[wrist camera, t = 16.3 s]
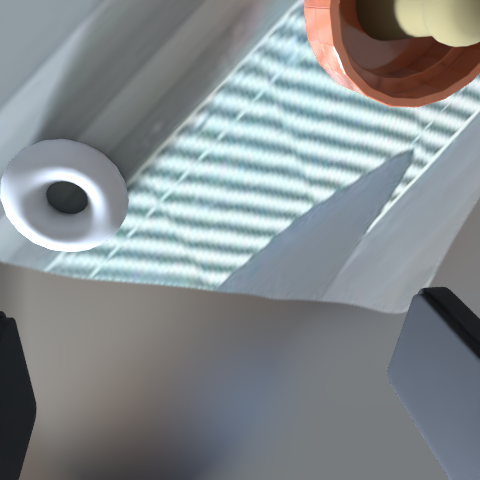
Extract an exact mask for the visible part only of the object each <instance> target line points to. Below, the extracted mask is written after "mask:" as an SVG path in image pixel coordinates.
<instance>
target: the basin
mask: <svg viewBox="0 0 480 480" xmlns="http://www.w3.org/2000/svg"><path fill="white" fill-rule="evenodd" d="M304 14H305V21H306V29H307V36H308V40H309V43H310V45H311V47H312V49H313V51H314V53H315V56H316V58H317V60H318V62H319V64H320V65H321V67H322V68H323V69H324V70H325V71H326V72H327V73H328V74H329V75H330V76H331V77H332V78H333V79H334V80H335V81H336V82H337V83H338V84H340V85H343V86H345V87H347V88H349V89H351V90H354V91H356V92H358V93H360V94H362V95H365V96H367V97H369V98H371V99H374V100H376V101H378V102H380V103H383V104H385V105H387V106H391V107H420V106H423V105H427V104H430V103H433V102H437V101H440V100H443V99H445V98H447V97H449V96H450V95H452V94H453V93H455V92H456V91H458V90H460V89H461V88H463V87H464V86H466V85H467V84H469V83H470V82H471V81H473V80H474V79H475V77H476V76H477V75H478V74H479V73H480V42H478V43H475V44H473V45H469V46H459V47H454V46H449V45H446V44H443V43H440V42H438V41H437V40H436V39H435V38H434V37H433V36H426V37H417V38H408V39H399V40H389V41H380V40H377V39H374V38H371V37H370V36H369V35H368V34H367V33H366V32H364V31H363V29H362V27H361V25H360V23H359V21H358V18H357V13H356V0H305V1H304Z"/></svg>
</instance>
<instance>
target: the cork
mask: <svg viewBox="0 0 480 480" xmlns="http://www.w3.org/2000/svg"><path fill="white" fill-rule="evenodd" d="M356 13H357V18H358V21H359V23H360V25H361V27H362V29H363V31H364V32H366V33H367V34H368V35H369V36H370V37H371V38H374V39H377V40H380V41H389V40H399V39H408V38H417V37H426V36H433V37H434V38H435V39H436V40H437V41H438V42H440V43H443V44H446V45H449V46H454V47H459V46H469V45H473V44H475V43H478V42H480V0H356Z"/></svg>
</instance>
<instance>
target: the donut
mask: <svg viewBox="0 0 480 480" xmlns="http://www.w3.org/2000/svg"><path fill="white" fill-rule="evenodd" d="M60 181H67V182H72V183H74V184H76V185H78V186H79V187H80V188H82V189H83V190H84V192H85V193H86V195H87V198H88V205H87V206H86V208H85V209H84V210H83V211H81V212H79V213H76V214H66V213H62V212H60V211H58V210H56V209H55V208H53V207H52V206H51V205H50V203H49V202H48V200H47V196H46V191H47V189H48V187H49V186H50V185H51V184H53V183H56V182H60ZM1 201H2V203H3V206H4V209H5V212H6V215H7V217H8V218H9V219H10V220H11V222H12V223H13V224H14V226H15V227H16V228H17V229H18V231H19V232H20V233H22V234H23V235H24V236H26V237H27V238H29V239H30V240H31V241H33V242H34V243H36V244H39V245H41V246H44V247H47V248H49V249H52V250H59V251H67V252H73V251H81V250H88V249H91V248H93V247H95V246H98V245H100V244H103V243H105V242H106V241H107V240H108V239H109V238H111V237H112V236H113V235H114V234H115V233H117V231H118V229H119V228H120V226H121V224H122V223H123V221H124V219H125V217H126V214H127V208H128V202H129V199H128V193H127V188H126V183H125V181H124V179H123V177H122V175H121V174H120V172H119V170H118V168H117V166H116V165H115V164H114V163H113V162H112V161H110V160H109V159H108V158H107V157H106V156H105V155H104V154H103V153H102V152H100V151H98V150H96V149H94V148H92V147H91V146H89V145H87V144H85V143H81V142H76V141H72V140H67V139H55V140H43V141H41V142H38V143H36V144H33V145H31V146H29V147H26V148H24V149H22V150H21V151H20V152H19V153H18V154H17V155H16V156H15V157H14V158H13V159H12V160H11V161H10V162H9V164H8V166H7V168H6V170H5V173H4V175H3V177H2V180H1Z"/></svg>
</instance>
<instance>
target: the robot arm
mask: <svg viewBox="0 0 480 480" xmlns="http://www.w3.org/2000/svg"><path fill="white" fill-rule="evenodd" d="M388 378H389V382H390V384H391V385H392V387H393V389H394V390H395V392H396V394H397V395H398V397H399V398H400V400H401V401H402V403H403V405H404V406H405V408H406V410H407V411H408V413H409V415H410V416H411V418H412V419H413V421H414V422H415V424H416V426H417V427H418V429H419V431H420V432H421V434H422V435H423V437H424V439H425V440H426V442H427V443H428V445H429V447H430V448H431V450H432V452H433V453H434V455H435V456H436V458H437V460H438V461H439V463H440V464H441V466H442V468H443V469H444V471H445V473H446V474H447V476H448V477H449V479H450V480H480V319H479V318H478V317H477V316H476V315H475V314H474V313H473V312H472V311H471V310H470V309H469V308H468V307H467V306H466V305H465V304H464V303H463V302H462V301H461V300H460V299H459V298H458V297H457V296H456V295H455V294H453V292H451V290H449V289H448V288H446V287H432V288H422V289H421V290H420V291H419V292H418V294H416V295H415V296H414V297H413V299H412V301H411V304H410V307H409V310H408V313H407V316H406V318H405V321H404V324H403V327H402V330H401V333H400V336H399V338H398V341H397V344H396V347H395V350H394V353H393V356H392V358H391V361H390V364H389V367H388ZM35 418H36V401H35V397H34V393H33V389H32V385H31V381H30V377H29V373H28V369H27V365H26V361H25V357H24V353H23V349H22V345H21V341H20V337H19V333H18V330H17V325H16V322H15V319H14V318H6V315H5V314H4V312H2V311H0V480H19V476H20V473H21V469H22V466H23V462H24V458H25V455H26V451H27V447H28V444H29V440H30V437H31V433H32V430H33V426H34V422H35Z"/></svg>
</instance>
